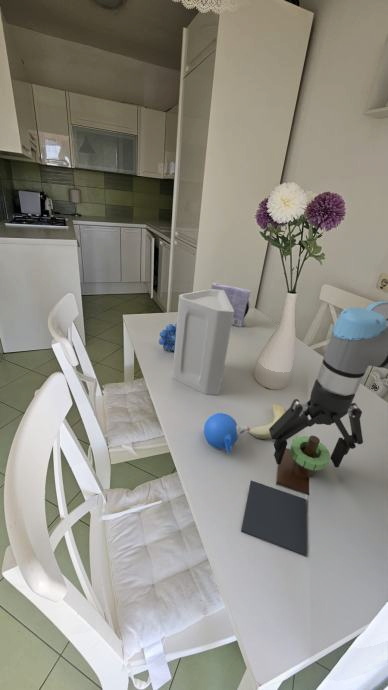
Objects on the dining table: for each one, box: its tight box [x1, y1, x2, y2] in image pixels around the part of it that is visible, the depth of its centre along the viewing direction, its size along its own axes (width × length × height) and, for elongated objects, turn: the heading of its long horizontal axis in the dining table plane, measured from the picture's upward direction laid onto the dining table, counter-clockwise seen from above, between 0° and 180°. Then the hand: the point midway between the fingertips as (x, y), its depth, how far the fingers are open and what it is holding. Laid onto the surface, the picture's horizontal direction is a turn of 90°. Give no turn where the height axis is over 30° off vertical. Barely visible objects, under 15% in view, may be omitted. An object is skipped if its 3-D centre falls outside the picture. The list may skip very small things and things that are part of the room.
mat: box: [240, 479, 307, 557], centre depth 62 cm, size 12×12×1 cm
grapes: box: [158, 322, 177, 352], centre depth 115 cm, size 12×7×12 cm, turn 94°
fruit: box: [247, 403, 286, 440], centre depth 84 cm, size 7×15×3 cm, turn 138°
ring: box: [289, 435, 331, 472], centre depth 68 cm, size 8×8×2 cm
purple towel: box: [210, 282, 251, 328], centre depth 144 cm, size 19×5×18 cm, turn 72°
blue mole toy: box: [203, 412, 251, 454], centre depth 76 cm, size 12×12×8 cm
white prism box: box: [172, 288, 234, 396], centre depth 96 cm, size 19×15×28 cm
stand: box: [275, 435, 321, 496], centre depth 69 cm, size 11×11×11 cm
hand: (305, 461), depth 70 cm, fingers open, 13 cm apart
